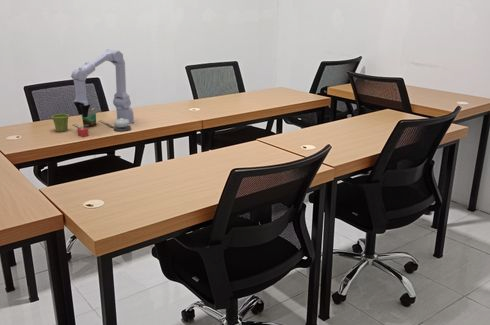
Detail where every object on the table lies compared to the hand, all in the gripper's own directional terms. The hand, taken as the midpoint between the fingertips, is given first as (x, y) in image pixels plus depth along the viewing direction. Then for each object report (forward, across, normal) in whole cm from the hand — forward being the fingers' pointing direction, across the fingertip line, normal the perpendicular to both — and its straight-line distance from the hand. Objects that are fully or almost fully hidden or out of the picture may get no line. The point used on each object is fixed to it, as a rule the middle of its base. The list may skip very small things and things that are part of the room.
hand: (83, 115), depth 278 cm
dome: (+7, +6, +20) cm, 22 cm away
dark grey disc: (+10, +6, +20) cm, 23 cm away
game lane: (+10, -10, +9) cm, 16 cm away
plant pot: (+10, -11, -9) cm, 18 cm away
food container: (+10, -12, +9) cm, 18 cm away
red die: (+10, +6, -3) cm, 12 cm away
